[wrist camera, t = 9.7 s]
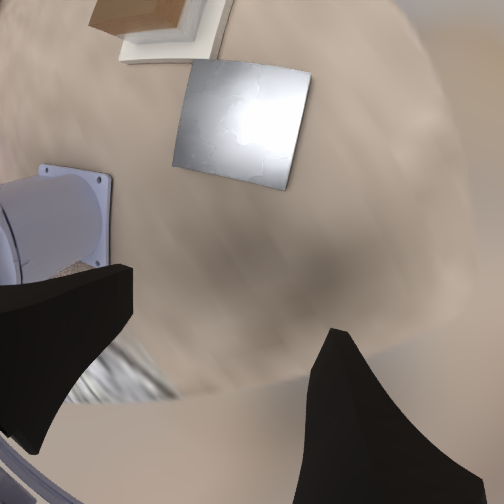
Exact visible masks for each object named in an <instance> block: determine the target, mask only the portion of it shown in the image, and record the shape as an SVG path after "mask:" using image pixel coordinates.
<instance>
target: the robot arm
mask: <svg viewBox="0 0 504 504" xmlns="http://www.w3.org/2000/svg"><path fill="white" fill-rule="evenodd" d="M100 177H101V182H100ZM110 192H111V177H110V176H109V175H108V174H105V173H99V172H93V171H88V170H82V169H76V168H69V167H63V166H57V165H50V164H40V166H39V172H38V175H37V176H32V177H28V178H24V179H20V180H16V181H12V182H8V183H5V184H1V185H0V431H1V432H2V433H3V434H5V436H6V437H7V438H9V437H11V438H12V439H13V440H15V442H17V443H18V444H19V445H20V446H21V447H22V448H23V449H24V450H25V451H26V452H27V453H29V454H31V455H37V454H39V451H40V448H41V446H42V443H43V441H44V438H45V436H46V434H47V431H48V429H49V427H50V425H51V423H52V421H53V419H54V417H55V415H56V413H57V412H58V410H59V408H60V406H61V405H62V403H63V401H64V400H65V398H66V396H67V395H68V393H69V392H70V390H71V389H72V387H73V386H74V384H75V383H76V382H77V380H78V379H79V377H80V376H81V375H82V373H83V372H84V371H85V370H86V369H87V368H88V366H89V365H90V364H91V363H92V362H93V361H94V360H95V359H96V358H97V357H98V356H99V355H100V354H101V353H102V351H103V350H104V349H105V348H106V347H107V346H108V345H109V344H110V343H111V342H112V341H113V340H114V339H115V338H116V336H117V335H118V334H119V333H120V332H121V330H122V329H123V328H124V326H125V325H126V324H127V322H128V321H129V319H130V318H131V316H132V315H133V268H131V267H128V266H125V265H123V264H113V265H109V209H110ZM77 261H81V262H83V263H86V264H88V265H90V266H93V267H95V269H91V270H87V271H83V272H79V273H75V274H71V275H67V276H63V277H58V278H54V279H49V278H50V277H52V276H54V275H55V274H57V273H59V272H60V271H62V270H64V269H65V268H67V267H69V266H71V265H72V264H74V263H76V262H77ZM98 262H99V263H100V264H99V263H98ZM47 279H49V280H47ZM0 459H1V460H2V462H4V463H5V465H6V466H8V467H9V469H11V470H12V471H13V472H14V473H15V474H16V475H17V476H18V477H19V478H20V479H21V480H22V481H23V482H25V483H26V484H27V485H28V486H29V487H30V488H31V489H33V490H34V491H35V492H36V493H37V494H39V495H40V496H41V497H42V498H44V499H45V500H46V501H47V502H49V503H50V504H84V503H82V502H80V501H79V500H77V499H76V498H74V497H73V496H71V495H70V494H68V493H67V492H66V491H64V490H63V489H61V488H60V487H59V486H57V485H56V484H55V483H53V482H52V481H51V480H49V479H48V478H47V477H45V476H44V475H43V474H42V473H40V472H39V471H38V470H37V469H36V468H34V467H33V466H32V465H31V464H30V463H28V462H27V461H26V460H25V459H24V458H23V457H22V456H21V455H19V454H18V452H16V451H15V450H14V449H13V448H12V447H11V446H10V445H9V444H8V443H7V442H6V441H5V440H4V439H3V438H2V437H1V436H0ZM36 502H37V500H36V498H34V497H33V496H32V495H31V494H30V493H29V492H28V491H27V490H26V489H25V488H24V487H23V486H22V485H20V484H19V483H18V482H17V481H16V480H15V479H14V478H12V477H11V476H10V475H9V474H8V473H7V472H6V471H4V470H3V469H2V468H1V467H0V504H36ZM293 504H487V500H486V495H485V489H484V483H483V481H482V479H481V478H479V477H478V476H476V475H474V474H473V473H471V472H470V471H468V470H466V469H465V468H463V467H462V466H460V465H458V464H457V463H456V462H454V461H453V460H452V459H450V458H449V457H448V456H446V455H445V454H444V453H443V452H441V451H440V450H439V449H438V448H437V447H436V446H434V445H433V444H432V443H431V442H430V441H429V440H428V439H427V438H426V437H425V436H424V435H423V434H422V433H420V431H419V430H418V429H417V428H416V427H415V426H414V425H413V424H412V423H411V422H410V421H409V420H408V419H407V418H406V416H405V415H404V414H403V413H402V412H401V410H400V409H399V408H398V407H397V406H396V404H395V403H394V402H393V401H392V399H391V398H390V397H389V395H388V394H387V393H386V391H385V390H384V388H383V387H382V386H381V384H380V383H379V381H378V380H377V378H376V377H375V375H374V374H373V372H372V370H371V369H370V367H369V366H368V364H367V363H366V361H365V359H364V358H363V356H362V354H361V353H360V351H359V349H358V348H357V346H356V344H355V343H354V341H353V339H352V338H351V336H350V335H349V333H348V332H346V331H342V330H338V329H334V328H330V331H329V333H328V335H327V337H326V339H325V342H324V344H323V346H322V348H321V350H320V353H319V355H318V357H317V359H316V361H315V363H314V365H313V367H312V369H311V373H310V379H309V385H308V392H307V403H306V424H305V442H304V453H303V461H302V466H301V470H300V475H299V480H298V484H297V488H296V492H295V496H294V500H293Z"/></svg>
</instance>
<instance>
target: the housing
mask: <svg viewBox="0 0 504 504" xmlns="http://www.w3.org/2000/svg"><path fill="white" fill-rule="evenodd" d="M206 2H207V0H98V1H97V3H96V6H95V8H94V11H93V14H92V16H91V19H90V22H89V25H88V26H91V27H94V28H96V29H99V30H102V31H104V32H107V33H109V34H112V35H114V36H116V37H119V38H121V39H123V40H126V41H128V42H130V43H132V44H135V45H140V44H151V43H167V42H194V41H195V38H196V34H197V31H198V27H199V24H200V21H201V17H202V14H203V11H204V8H205V5H206Z"/></svg>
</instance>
